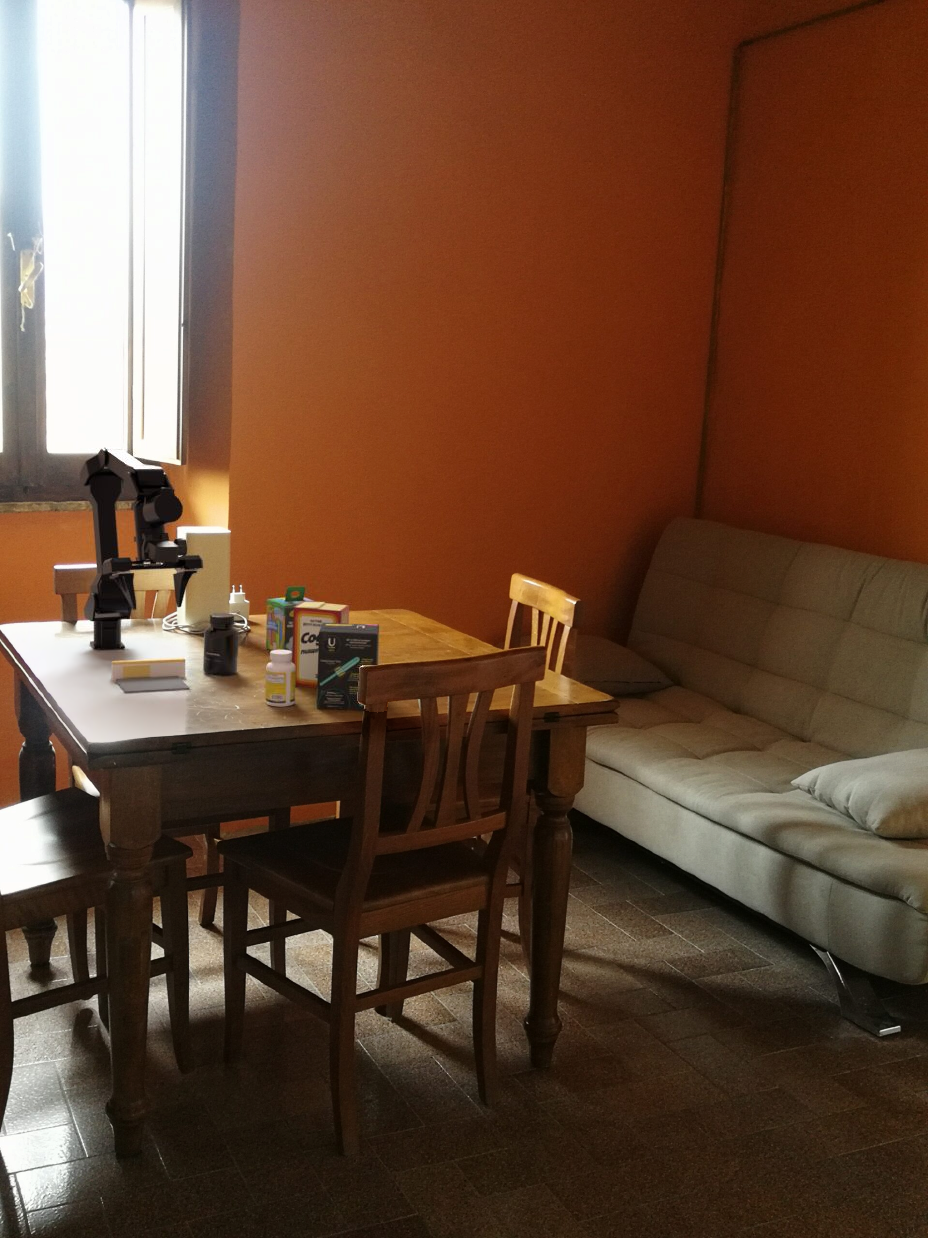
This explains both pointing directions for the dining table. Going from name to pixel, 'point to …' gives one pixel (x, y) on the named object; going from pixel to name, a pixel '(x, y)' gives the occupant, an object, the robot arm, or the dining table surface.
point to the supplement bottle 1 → (221, 646)
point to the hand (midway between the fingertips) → (157, 608)
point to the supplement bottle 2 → (280, 679)
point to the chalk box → (282, 619)
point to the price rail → (148, 668)
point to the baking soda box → (312, 636)
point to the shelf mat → (152, 684)
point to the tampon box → (344, 662)
